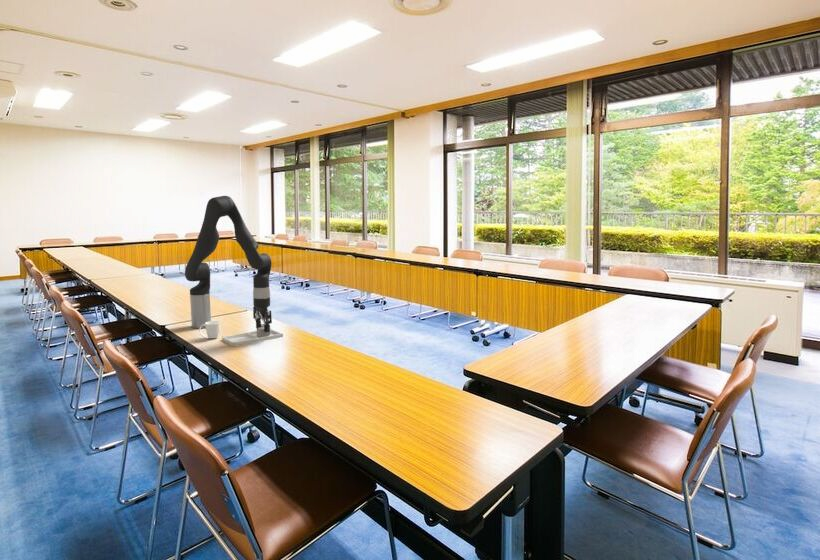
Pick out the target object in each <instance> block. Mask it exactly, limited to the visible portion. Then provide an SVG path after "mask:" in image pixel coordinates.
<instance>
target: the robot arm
mask: <svg viewBox="0 0 820 560" xmlns="http://www.w3.org/2000/svg"><path fill="white" fill-rule="evenodd" d="M224 217H228V218H229V219H230V221H231V222H232V224H233V229H234V237H235V239H236V242H237V244H238V245H239V247H240V248H241V249H242V250H243V252H244V255H245V257H246V260H247V262H248V265H249V266H250V267H251V268H252V269H253V270H256V273H255V275H254V276H253V278H252V279H253V280H252V281H253V282H252V284H253V285H252V286H253V289H252V291H253V292H252V297H253V298H252V299H253V300H252V301H253V304H252V305H253V307H252V311H253V312H252V314H253V319H254V321H255V328H256V329H257V328H259V327H261V324H262V322H263V324H264V332H269V325H270V324H272V323H273V321H272V320H273V319H272V310H269V309H268V308H269V307H270V306H271V291H270V274H271V271H272V258H271V256H270V254H268V253H259V251H258V249H259V244H258V242H257V241H256V239H255V237H254V236H253V235H252V233H251V232H250V231H249V228H248V227H247V225H246V223H245V222H244V219H243V217H242V215H241V212H240V211H239V209H238V206H237V204H236V203H235V202H234V200H233V199H232V197H231V196H229V195H222V196H216V197H211V198H210V199H208V202H207V204H206V208H205V212H204V217H203V221H202V224H201V228H200V231H199V234H198V237H197V239H196V241H195V242H196V243H195V245H194V248H193V250H192V254H191V255H190V258H189V259H188V261H187V263H186V266H185V269H184V277H185V279H186V280H187V281H188V282H198V283H197V284H196V285H195V286H192V287H191V288H190V289H189V299H190V317H191V319H190V320H191V328H192V329H200V326H201V325H202V327H201V329H206V327H205V326H204V325H203V324H205V322H209V321H212V315H211V314H212V313H211V292H210V290H211V267H210V265H209V263H207V262H203V261H204V260H206V259H207V258H208V257H209V256H211V255H212V254H213V253H214V252H215V250H216V248H217V247H218V244H219V241H220V234H219V230H218V229H217V228H218V227H217V225H218V222H219V220H220V218H224Z"/></svg>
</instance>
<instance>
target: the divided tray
mask: <svg viewBox="0 0 820 560" xmlns="http://www.w3.org/2000/svg"><path fill="white" fill-rule="evenodd" d="M283 337H284V334H283V333H282V332H279V331H277V330H275V329H272V328H270V335H269V336H266V337H261V338H258V337H257V330H253V331H246V332H242V333H236V334H235V333H234V334H231V335H225V336H221V340H222V341H223V342H224V343H227V344H228V345H231V346H232V347H236V346H243V345H247V344H252V343H259V342H262V341H267V340H268V341H269V340H274V339H278V338H283Z"/></svg>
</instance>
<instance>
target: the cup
mask: <svg viewBox="0 0 820 560" xmlns="http://www.w3.org/2000/svg"><path fill="white" fill-rule="evenodd" d="M203 325H204V326H205V327H206V328H205V331H206V335H207V336H205V335H204V334H203V333H202V328H201V327H202V325H201V326H200V328H198V330H199V331H198V332H199V334H200V335H201V337H203V338H204V339H217V338H219V334H220V328H221V327H220V326H221V321H218V320H211V321H209V322H205V324H203Z"/></svg>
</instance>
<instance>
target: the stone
mask: <svg viewBox="0 0 820 560" xmlns="http://www.w3.org/2000/svg"><path fill="white" fill-rule="evenodd" d="M256 331H257V337H258V338H261V337H266V336H269V332H264V327H259V328H256Z"/></svg>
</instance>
